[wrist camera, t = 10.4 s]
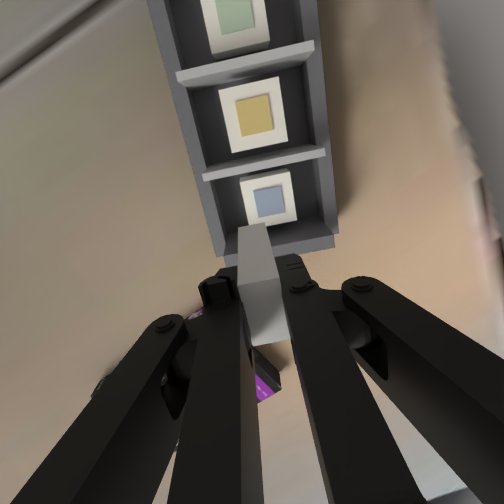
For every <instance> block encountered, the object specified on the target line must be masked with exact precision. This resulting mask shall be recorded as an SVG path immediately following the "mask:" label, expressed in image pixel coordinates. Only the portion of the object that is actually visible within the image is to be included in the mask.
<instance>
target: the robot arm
mask: <svg viewBox="0 0 504 504" xmlns="http://www.w3.org/2000/svg"><path fill="white" fill-rule="evenodd" d="M198 288H199V292H200V295H201V298H202V301H203V304H204V310H203V313H202V314H201V315H199V316H197V317H195V318H193V319H190V320H188V321H185V322H184V319H183V317H182V316H181V315H179V314H170V315H165V316H162V317H159V318H158V319H157V320H155V321H153V322H152V323H151V324H150V325H149V326H148V327H147V328H146V330H145V331H144V332H143V334H142V335H141V336H140V337H139V339H138V340H137V341H136V343H135V344H134V345H133V346H132V348H131V349H130V350H129V351H128V353H127V354H126V355H125V357H124V358H123V359H122V360H121V362H120V363H119V364H118V366H117V367H116V368H115V369H114V371H113V372H112V373H111V375H110V376H109V377H108V378H107V380H106V381H105V382H104V384H103V385H102V386H101V387H100V389H99V390H98V391H97V393H96V394H95V395H94V396H93V398H92V399H91V400H90V402H89V403H88V404H87V405H86V407H85V408H84V409H83V411H82V412H81V413H80V414H79V416H78V417H77V418H76V420H75V421H74V422H73V423H72V425H71V426H70V427H69V429H68V430H67V431H66V432H65V434H64V435H63V436H62V438H61V439H60V440H59V441H58V443H57V444H56V445H55V447H54V448H53V449H52V450H51V452H50V453H49V454H48V456H47V457H46V458H45V459H44V461H43V462H42V463H41V465H40V466H39V467H38V468H37V470H36V471H35V472H34V474H33V475H32V476H31V477H30V479H29V480H28V481H27V483H26V484H25V485H24V486H23V488H22V489H21V490H20V492H19V493H18V494H17V495H16V497H15V498H14V499H13V501H12V502H11V503H10V504H152V502H153V500H154V497H155V495H156V492H157V490H158V488H159V485H160V483H161V481H162V478H163V476H164V473H165V471H166V469H167V466H168V464H169V461H170V459H171V457H172V454H173V452H174V450H175V447H176V445H177V442H178V440H179V442H178V447H177V452H176V458H175V463H174V468H173V473H172V479H171V484H170V489H169V495H168V500H167V504H264V494H263V480H262V465H261V450H260V436H259V421H258V407H257V392H256V378H255V363H254V354H253V350H252V346H251V341H252V345H253V346H258V345H263V344H268V343H274V342H279V341H284V340H289V339H291V344H292V350H293V355H294V360H295V364H296V366H297V371H298V375H299V379H300V383H301V388H302V392H303V396H304V400H305V405H306V409H307V413H308V417H309V422H310V426H311V430H312V434H313V439H314V443H315V447H316V451H317V456H318V460H319V464H320V468H321V473H322V477H323V481H324V486H325V490H326V494H327V498H328V503H329V504H431V503H430V502H427V501H426V499H425V498H424V497H423V495H422V494H421V492H420V490H419V488H418V486H417V484H416V482H415V480H414V478H413V476H412V474H411V472H410V470H409V468H408V466H407V464H406V462H405V460H404V458H403V456H402V454H401V452H400V450H399V448H398V446H397V444H396V442H395V440H394V438H393V436H392V434H391V432H390V429H389V427H388V425H387V423H386V421H385V419H384V417H383V415H382V413H381V411H380V409H379V407H378V405H377V403H376V401H375V399H374V397H373V395H372V393H371V391H370V389H369V387H368V385H367V383H366V381H365V379H364V377H363V375H362V373H361V371H360V369H359V367H358V365H357V363H358V364H359V365H360V366H361V367H362V368H363V369H364V370H365V372H366V373H367V374H368V375H369V376H370V377H371V378H372V379H373V381H374V382H375V383H376V384H377V385H378V386H379V387H380V388H381V390H382V391H383V392H384V393H385V394H386V395H387V396H388V397H389V399H390V400H391V401H392V402H393V403H394V404H395V405H396V406H397V408H398V409H399V410H400V411H401V412H402V413H403V414H404V415H405V417H406V418H407V419H408V420H409V421H410V422H411V423H412V425H413V426H414V427H415V428H416V429H417V430H418V431H419V432H420V434H421V435H422V436H423V437H424V438H425V439H426V440H427V441H428V443H429V444H430V445H431V446H432V447H433V448H434V449H435V450H436V452H437V453H438V454H439V455H440V456H441V457H442V458H443V459H444V461H445V462H446V463H447V464H448V465H449V466H450V467H451V468H452V470H453V471H454V472H455V473H456V474H457V475H458V476H459V477H460V479H461V480H462V481H463V482H464V483H465V484H466V485H467V486H468V488H469V489H470V490H471V491H472V492H473V493H474V494H475V495H476V496H477V498H478V499H479V500H480V501H481V502H482V503H483V504H504V359H502V358H501V357H499V356H497V355H496V354H494V353H493V352H491V351H490V350H488V349H486V348H485V347H483V346H482V345H480V344H479V343H477V342H475V341H474V340H472V339H471V338H469V337H468V336H466V335H464V334H463V333H461V332H460V331H458V330H456V329H455V328H453V327H452V326H450V325H449V324H447V323H445V322H444V321H442V320H441V319H439V318H438V317H436V316H434V315H433V314H431V313H430V312H428V311H427V310H425V309H423V308H422V307H420V306H419V305H417V304H416V303H414V302H412V301H411V300H409V299H408V298H406V297H404V296H403V295H401V294H400V293H398V292H397V291H395V290H393V289H392V288H390V287H389V286H387V285H386V284H384V283H382V282H381V281H379V280H377V279H375V278H372V277H366V276H361V277H360V276H357V277H354V278H350V279H348V280H346V281H344V282H343V284H342V287H341V290H327V289H322V288H320V287H319V285H318V284H317V283H316V282H315V281H314V280H311V277H310V275H309V273H308V271H307V269H306V267H305V265H304V263H303V261H302V258H301V257H300V256H298V255H297V254H295V253H292V254H287V255H282V256H277V257H274V255H273V251H272V247H271V244H270V240H269V236H268V233H267V229H266V225H265V222H263V223H258V224H253V225H248V226H243V227H238V265H237V266H232V267H227V268H222V269H220V270H219V271H218V272H217V273H216V274H215V276H212V277H209V278H207V279H205V280H204V281H202V282H201V283H200V285H199V286H198ZM356 361H357V362H356ZM163 377H164V378H163ZM162 379H163V380H162Z"/></svg>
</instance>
